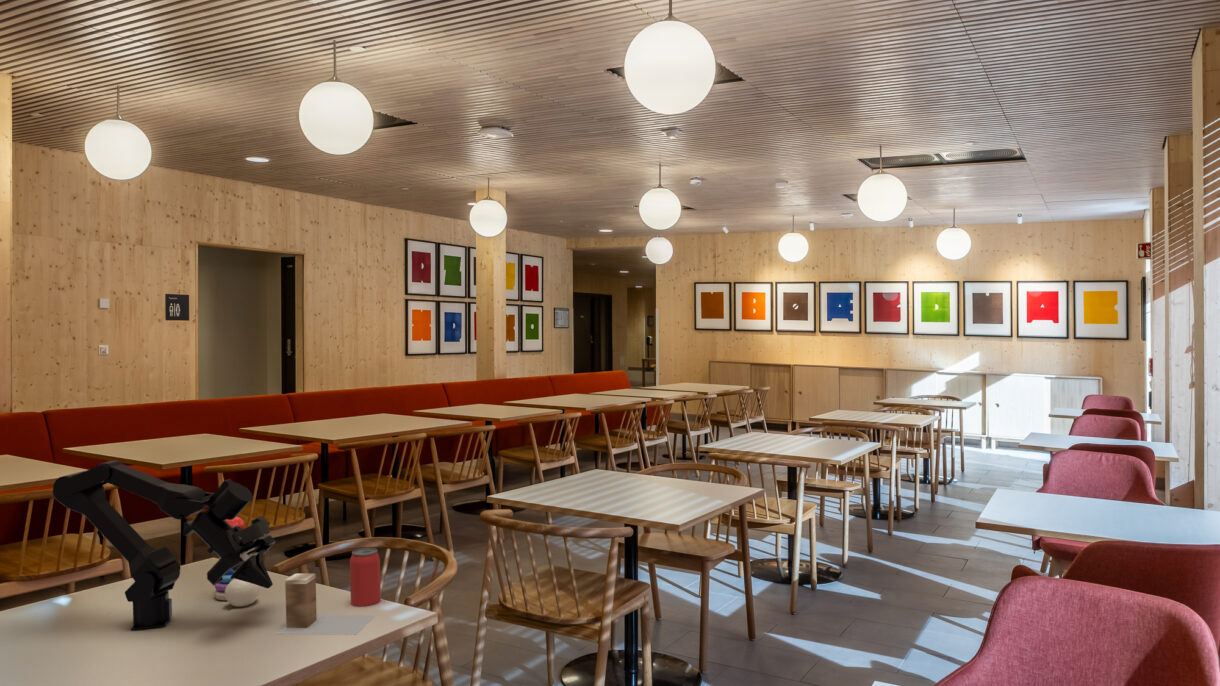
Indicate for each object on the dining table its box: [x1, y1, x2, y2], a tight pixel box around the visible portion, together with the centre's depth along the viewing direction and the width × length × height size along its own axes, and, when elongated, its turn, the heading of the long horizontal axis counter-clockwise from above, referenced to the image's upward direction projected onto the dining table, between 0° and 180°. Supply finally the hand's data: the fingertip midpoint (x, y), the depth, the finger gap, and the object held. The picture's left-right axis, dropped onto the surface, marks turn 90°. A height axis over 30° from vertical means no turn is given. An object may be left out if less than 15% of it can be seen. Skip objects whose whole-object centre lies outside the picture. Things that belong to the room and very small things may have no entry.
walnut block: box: [284, 573, 318, 628], centre depth 171 cm, size 4×4×10 cm
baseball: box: [225, 579, 260, 608], centre depth 184 cm, size 7×7×7 cm
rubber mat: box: [275, 614, 376, 636], centre depth 170 cm, size 17×11×1 cm, turn 86°
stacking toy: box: [213, 516, 246, 601], centre depth 191 cm, size 8×8×19 cm
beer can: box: [349, 547, 382, 608], centre depth 184 cm, size 7×7×12 cm
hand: (270, 586), depth 171 cm, fingers closed
